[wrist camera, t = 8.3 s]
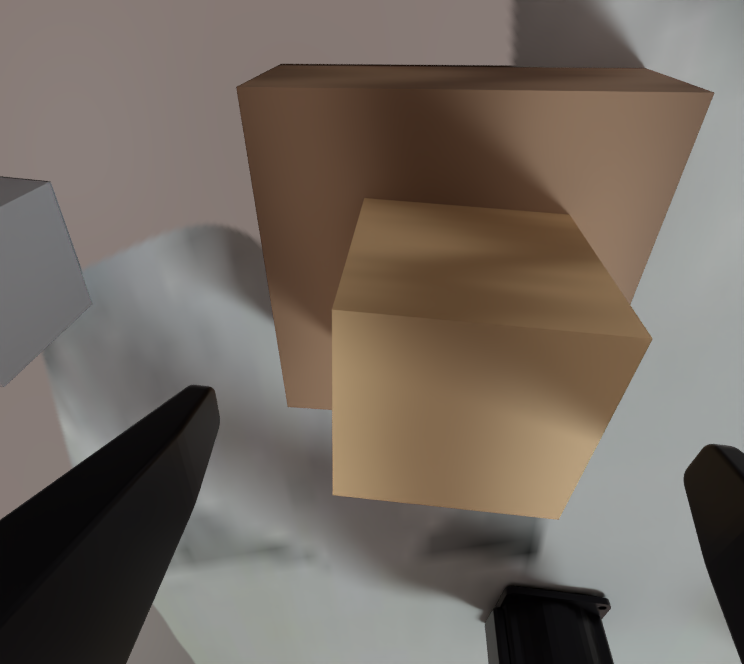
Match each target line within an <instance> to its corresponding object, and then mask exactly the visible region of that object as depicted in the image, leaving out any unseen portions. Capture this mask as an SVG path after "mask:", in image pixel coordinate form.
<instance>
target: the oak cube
mask: <svg viewBox="0 0 744 664" xmlns="http://www.w3.org/2000/svg"><path fill="white" fill-rule="evenodd" d="M651 341H652V337H651V336H650V334H649V333H648V331H647V330H646V328H645V327H644V325H643V324H642V322H641V321H640V319H639V318H638V316H637V315H636V313H635V312H634V310H633V309H632V307H631V306H630V304H629V303H628V301H627V300H626V298H625V297H624V295H623V294H622V292H621V291H620V289H619V288H618V286H617V285H616V283H615V282H614V280H613V279H612V277H611V276H610V274H609V273H608V271H607V270H606V268H605V267H604V265H603V264H602V262H601V261H600V259H599V258H598V256H597V255H596V253H595V252H594V250H593V249H592V247H591V246H590V244H589V243H588V241H587V240H586V238H585V237H584V235H583V234H582V232H581V231H580V229H579V228H578V226H577V225H576V223H575V222H574V220H573V219H572V217H571V216H570V215H569V214H557V213H544V212H532V211H519V210H507V209H494V208H482V207H469V206H457V205H444V204H432V203H419V202H407V201H394V200H382V199H369V198H364V201H363V204H362V208H361V211H360V215H359V218H358V222H357V225H356V228H355V232H354V235H353V239H352V242H351V246H350V249H349V253H348V256H347V259H346V263H345V266H344V270H343V273H342V277H341V280H340V284H339V287H338V290H337V294H336V297H335V301H334V304H333V308H332V444H333V495H336V496H345V497H355V498H364V499H373V500H382V501H392V502H401V503H410V504H419V505H428V506H438V507H447V508H456V509H465V510H474V511H484V512H493V513H502V514H511V515H520V516H530V517H539V518H548V519H557V520H559V518H560V516H561V514H562V512H563V510H564V508H565V506H566V504H567V502H568V501H569V499H570V497H571V495H572V493H573V491H574V489H575V487H576V485H577V483H578V481H579V479H580V477H581V476H582V474H583V472H584V470H585V468H586V466H587V464H588V462H589V460H590V458H591V456H592V454H593V452H594V451H595V449H596V447H597V445H598V443H599V441H600V439H601V437H602V435H603V433H604V431H605V429H606V427H607V425H608V424H609V422H610V420H611V418H612V416H613V414H614V412H615V410H616V408H617V406H618V404H619V402H620V400H621V399H622V397H623V395H624V393H625V391H626V389H627V387H628V385H629V383H630V381H631V379H632V377H633V375H634V374H635V372H636V370H637V368H638V366H639V364H640V362H641V360H642V358H643V356H644V354H645V352H646V350H647V349H648V347H649V345H650V343H651Z"/></svg>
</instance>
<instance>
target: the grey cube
mask: <svg viewBox="0 0 744 664" xmlns="http://www.w3.org/2000/svg"><path fill="white" fill-rule="evenodd" d="M81 270H82V269H81V266H80V263H79V261H78V257H77V255H76V252H75V249H74V246H73V243H72V241H71V238H70V235H69V232H68V229H67V226H66V223H65V221H64V218H63V215H62V212H61V209H60V206H59V204H58V201H57V198H56V195H55V192H54V190H53V187H52V184H51V181H42V180H32V179H23V178H12V177H3V176H0V387H5V386H6V385H7V384H8V383H9V382H10V381H11V380H12V379H13V378H14V377H15V376H16V375H17V374H18V373H19V372H21V371H22V370H23V369H24V368H25V367H26V366H27V365H28V364H29V363H30V362H31V361H32V360H33V359H34V358H35V357H37V356H38V355H39V354H40V353H41V352H42V351H43V350H44V349H45V348H46V347H47V346H48V345H49V344H50V343H51V342H53V341H54V340H55V339H56V338H57V337H58V336H59V335H60V334H61V333H62V332H63V331H64V330H65V329H66V328H67V327H68V326H70V325H71V324H72V323H73V322H74V321H75V320H76V319H77V318H78V317H79V316H80V315H81V314H82V313H83V312H84V311H86V310H87V309H88V308H89V307H90V306H91V305H92V301H91V299H90V296H89V293H88V290H87V287H86V285H85V282H84V279H83V276H82V273H81Z"/></svg>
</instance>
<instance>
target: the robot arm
mask: <svg viewBox="0 0 744 664" xmlns="http://www.w3.org/2000/svg"><path fill="white" fill-rule="evenodd" d="M219 425H220V415H219V410H218V405H217V399H216V394H215V391H214V389H213V388H212V387H209V386H201V385H190V386H188V387H186V388H185V389H183V390H182V391H181V392H179V393H178V394H176V395H175V396H174V397H172V398H171V399H169V400H168V401H167V402H165V403H164V404H162V405H161V406H160V407H158V408H157V409H155V410H154V411H153V412H151V413H150V414H148V415H147V416H146V417H144V418H143V419H141V420H140V421H138V422H137V423H136V424H134V425H133V426H131V427H130V428H129V429H127V430H126V431H124V432H123V433H122V434H120V435H119V436H117V437H116V438H115V439H113V440H112V441H110V442H109V443H108V444H106V445H105V446H103V447H102V448H101V449H99V450H98V451H96V452H95V453H94V454H92V455H91V456H89V457H88V458H86V459H85V460H84V461H82V462H81V463H79V464H78V465H77V466H75V467H74V468H72V469H71V470H70V471H68V472H67V473H65V474H64V475H63V476H62V477H60V478H58V479H57V480H56V481H54V482H53V483H52V484H50V485H49V486H47V487H46V488H44V489H43V490H42V491H40V492H39V493H37V494H36V495H34V496H33V497H32V498H30V499H29V500H27V501H26V502H25V503H23V504H22V505H20V506H19V507H18V508H16V509H15V510H13V511H12V512H11V513H9V514H8V515H6V516H5V517H4V518H2V519H1V520H0V664H126V663H127V660H128V658H129V656H130V654H131V651H132V649H133V647H134V644H135V642H136V640H137V638H138V635H139V633H140V631H141V628H142V626H143V624H144V621H145V619H146V617H147V614H148V612H149V610H150V608H151V605H152V603H153V601H154V599H155V596H156V594H157V592H158V589H159V587H160V585H161V582H162V580H163V578H164V576H165V573H166V571H167V569H168V566H169V564H170V562H171V559H172V557H173V555H174V553H175V550H176V548H177V546H178V543H179V541H180V539H181V536H182V534H183V532H184V530H185V527H186V525H187V523H188V520H189V518H190V516H191V513H192V511H193V508H194V506H195V503H196V500H197V497H198V494H199V491H200V488H201V485H202V481H203V478H204V475H205V472H206V468H207V465H208V462H209V459H210V455H211V452H212V449H213V446H214V442H215V439H216V436H217V433H218V429H219ZM684 486H685V490H686V494H687V498H688V502H689V505H690V509H691V513H692V517H693V521H694V524H695V528H696V532H697V536H698V540H699V544H700V547H701V551H702V555H703V558H704V562H705V565H706V568H707V571H708V574H709V577H710V580H711V582H712V585H713V588H714V590H715V593H716V596H717V598H718V601H719V604H720V606H721V609H722V612H723V614H724V617H725V620H726V622H727V625H728V628H729V631H730V633H731V636H732V639H733V641H734V644H735V647H736V649H737V652H738V655H739V657H740V660H741V663H742V664H744V453H743V452H741V451H740V450H738V449H737V448H735V447H732V446H726V445H717V444H709V445H706V446H705V447H704V448H703V449H702V450H701V451H700V452H699V454H698V455H697V456H696V458H695V459H694V460H693V461H692V463H691V464H690V465H689V467H688V468H687V469H686V471H685V473H684ZM610 609H611V606H610V602H609V600H608V599H607V598H603V597H595V596H587V595H579V594H571V593H563V592H555V591H547V590H539V589H531V588H523V587H515V586H510V587H507V588H505V590H504V592H503V594H502V595H501V597H500V599H499V601H498V603H497V605H496V607H495V608H494V609H493V610H492V612H491V614H490V616H489V618H488V620H487V621H486V623H485V631H486V641H487V651H488V662H489V664H614V662H613V659H612V655H611V651H610V648H609V644H608V641H607V637H606V634H605V630H604V627H603V623H602V620H601V619H602V618H603V617H604V616H605V615H606V614H607V612H608V611H609V610H610Z"/></svg>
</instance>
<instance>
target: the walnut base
mask: <svg viewBox="0 0 744 664" xmlns="http://www.w3.org/2000/svg"><path fill="white" fill-rule="evenodd" d="M236 88H237V94H238V100H239V107H240V112H241V119H242V125H243V132H244V137H245V144H246V150H247V156H248V163H249V168H250V175H251V181H252V188H253V194H254V199H255V206H256V212H257V219H258V225H259V231H260V237H261V244H262V250H263V256H264V262H265V268H266V275H267V281H268V287H269V293H270V300H271V306H272V312H273V318H274V324H275V331H276V337H277V343H278V349H279V355H280V362H281V368H282V374H283V380H284V387H285V393H286V399H287V405H288V407H297V408H312V409H328V410H332V308H333V304H334V301H335V297H336V294H337V290H338V287H339V284H340V280H341V277H342V273H343V270H344V266H345V263H346V259H347V256H348V253H349V249H350V246H351V242H352V239H353V235H354V232H355V228H356V225H357V222H358V218H359V215H360V211H361V208H362V204H363V201H364V198H369V199H382V200H394V201H407V202H419V203H432V204H444V205H457V206H469V207H482V208H494V209H507V210H519V211H532V212H544V213H557V214H569V215H570V216H571V217H572V219H573V220H574V222H575V223H576V225H577V226H578V228H579V229H580V231H581V232H582V234H583V235H584V237H585V238H586V240H587V241H588V243H589V244H590V246H591V247H592V249H593V250H594V252H595V253H596V255H597V256H598V258H599V259H600V261H601V262H602V264H603V265H604V267H605V268H606V270H607V271H608V273H609V274H610V276H611V277H612V279H613V280H614V282H615V283H616V285H617V286H618V288H619V289H620V291H621V292H622V294H623V295H624V297H625V298H626V300H627V301H628V303H629V304H631V301H632V299H633V296H634V294H635V291H636V289H637V286H638V284H639V281H640V279H641V276H642V274H643V271H644V269H645V266H646V264H647V261H648V258H649V256H650V253H651V251H652V248H653V246H654V243H655V241H656V238H657V236H658V233H659V231H660V228H661V226H662V223H663V221H664V218H665V216H666V213H667V211H668V208H669V206H670V203H671V201H672V198H673V196H674V193H675V191H676V188H677V186H678V183H679V181H680V178H681V175H682V173H683V170H684V168H685V165H686V163H687V160H688V158H689V155H690V153H691V150H692V148H693V145H694V143H695V140H696V138H697V135H698V133H699V130H700V128H701V125H702V123H703V120H704V118H705V115H706V113H707V110H708V108H709V105H710V103H711V100H712V97H713V95H714V92H711V91H708V90H705V89H703V88H700V87H697V86H694V85H691V84H689V83H686V82H683V81H680V80H677V79H675V78H672V77H669V76H666V75H663V74H660V73H658V72H655V71H652V70H649V69H646V68H542V67H513V66H512V65H391V64H387V65H386V64H385V65H384V64H280V65H278V66H276V67H274V68H272V69H270V70H269V71H266V72H264V73H262V74H260V75H259V76H257V77H255V78H253V79H251V80H249V81H247V82H245V83H243V84H241V85H240V86H237V87H236Z"/></svg>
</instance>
